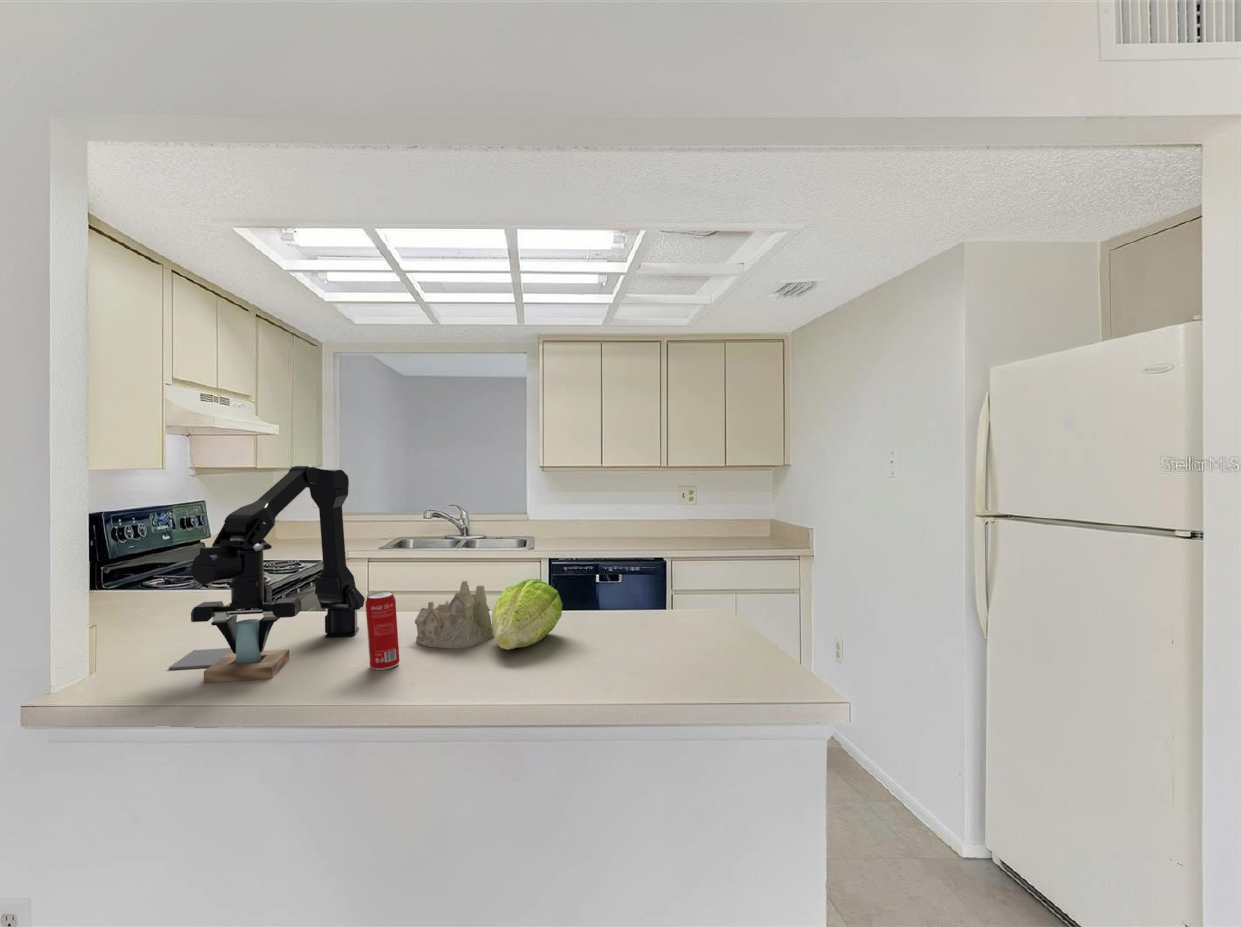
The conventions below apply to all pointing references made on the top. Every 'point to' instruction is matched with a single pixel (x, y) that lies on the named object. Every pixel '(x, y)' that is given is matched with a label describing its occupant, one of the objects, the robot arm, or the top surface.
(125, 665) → the top surface
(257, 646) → the peg
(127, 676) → the top surface
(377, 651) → the beverage can
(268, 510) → the robot arm
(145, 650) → the top surface
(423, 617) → the ceramic cottage
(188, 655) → the mat
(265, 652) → the pocket block
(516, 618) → the lettuce
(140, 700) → the top surface
